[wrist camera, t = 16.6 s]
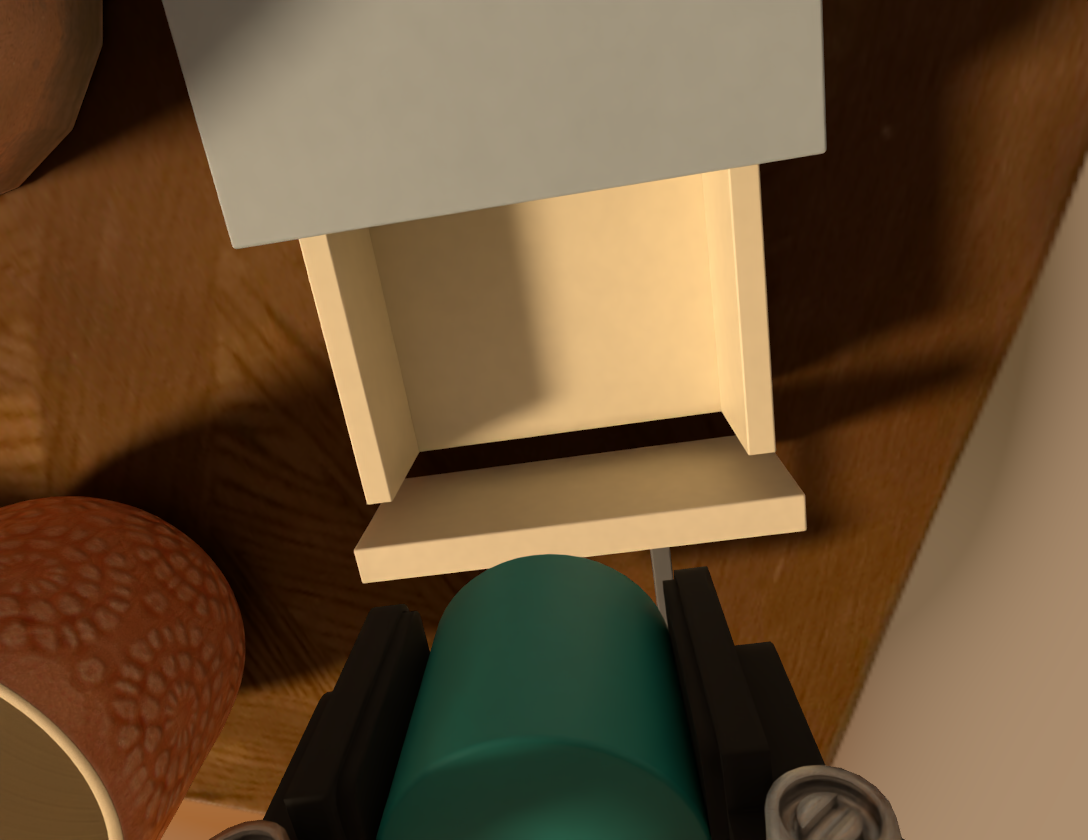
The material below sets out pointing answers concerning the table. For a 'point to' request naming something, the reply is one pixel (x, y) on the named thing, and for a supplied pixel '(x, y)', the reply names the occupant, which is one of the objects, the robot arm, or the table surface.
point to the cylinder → (548, 715)
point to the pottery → (42, 77)
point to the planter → (107, 668)
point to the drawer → (558, 373)
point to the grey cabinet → (484, 101)
